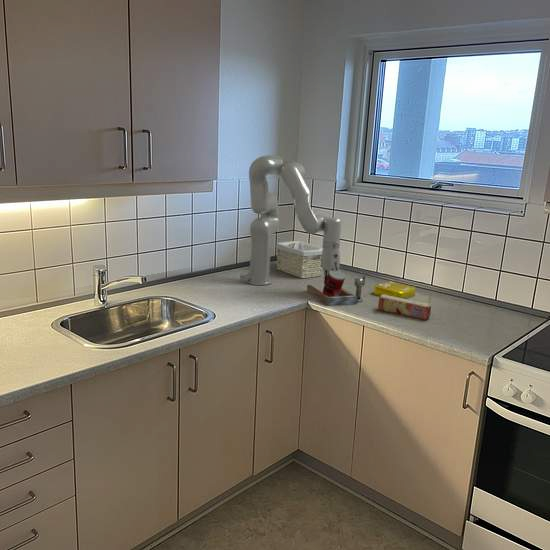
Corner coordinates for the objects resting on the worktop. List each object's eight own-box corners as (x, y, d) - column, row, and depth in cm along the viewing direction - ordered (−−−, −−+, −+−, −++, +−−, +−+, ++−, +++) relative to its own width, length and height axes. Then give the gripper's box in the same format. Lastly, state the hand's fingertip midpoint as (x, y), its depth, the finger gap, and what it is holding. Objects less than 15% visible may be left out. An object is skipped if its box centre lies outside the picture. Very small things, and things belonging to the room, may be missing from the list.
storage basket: (273, 269, 294) (275, 242, 290) (298, 266, 303) (299, 239, 299) (300, 280, 275) (302, 251, 271) (326, 276, 284) (328, 248, 281)
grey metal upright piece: (355, 302, 243) (358, 277, 240) (351, 299, 247) (353, 275, 244) (364, 301, 245) (367, 277, 242) (360, 299, 249) (362, 274, 246)
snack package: (430, 317, 230) (432, 301, 228) (426, 321, 224) (428, 305, 222) (381, 307, 239) (382, 292, 237) (376, 311, 233) (377, 296, 232)
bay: (328, 305, 236) (329, 298, 235) (306, 291, 256) (307, 283, 256) (357, 303, 241) (357, 296, 240) (333, 289, 262) (334, 282, 261)
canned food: (338, 291, 253) (345, 271, 247) (338, 300, 246) (345, 280, 240) (322, 287, 253) (329, 267, 247) (321, 296, 246) (328, 276, 240)
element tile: (400, 302, 249) (401, 292, 247) (371, 294, 258) (372, 284, 257) (416, 296, 260) (417, 286, 258) (388, 289, 269) (389, 279, 268)
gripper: (346, 248, 243) (343, 288, 247) (330, 241, 256) (327, 279, 260) (331, 249, 240) (328, 289, 244) (316, 242, 253) (313, 280, 258)
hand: (327, 284), depth 252 cm, fingers closed
